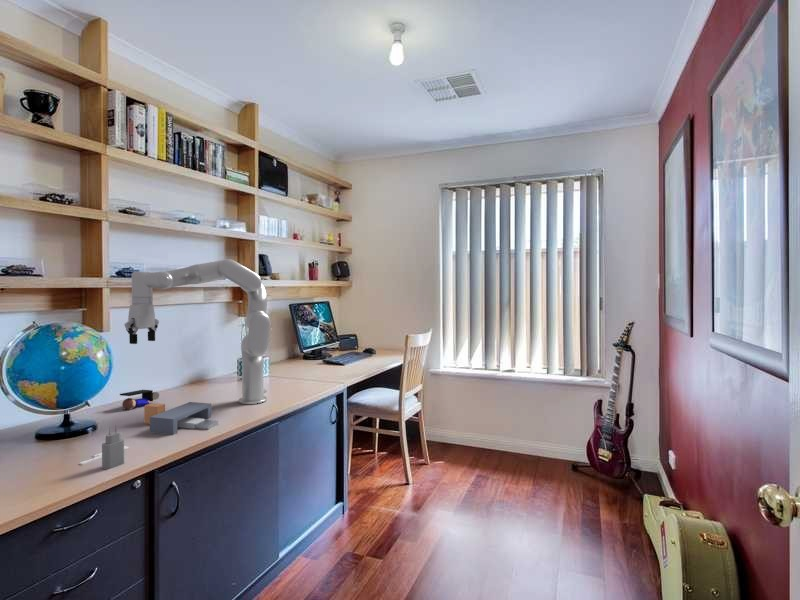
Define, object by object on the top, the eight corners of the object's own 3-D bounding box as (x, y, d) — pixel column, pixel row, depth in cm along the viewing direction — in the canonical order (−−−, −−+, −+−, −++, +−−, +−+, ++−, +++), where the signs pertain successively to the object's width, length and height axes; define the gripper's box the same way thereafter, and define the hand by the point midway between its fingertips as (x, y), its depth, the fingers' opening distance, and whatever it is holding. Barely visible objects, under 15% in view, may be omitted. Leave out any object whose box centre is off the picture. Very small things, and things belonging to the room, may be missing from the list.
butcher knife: (71, 463, 136) (71, 460, 136) (118, 447, 150) (118, 444, 150) (82, 466, 134) (82, 462, 134) (129, 449, 148) (129, 446, 148)
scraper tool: (154, 419, 180) (153, 402, 180) (204, 423, 175) (204, 406, 175) (142, 424, 174) (142, 406, 174) (194, 428, 169) (194, 410, 169)
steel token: (204, 424, 175) (204, 419, 175) (218, 426, 174) (218, 420, 174) (194, 429, 169) (194, 424, 169) (208, 430, 168) (208, 425, 168)
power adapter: (125, 463, 136) (125, 424, 136) (107, 469, 131) (107, 429, 131) (118, 461, 137) (118, 422, 137) (100, 467, 132) (100, 427, 132)
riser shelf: (190, 415, 186) (189, 401, 185) (211, 417, 184) (211, 403, 183) (149, 432, 164) (149, 417, 164) (173, 434, 162) (173, 419, 162)
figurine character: (147, 404, 207) (117, 409, 193) (149, 388, 208) (119, 391, 193) (159, 406, 205) (129, 411, 190) (160, 389, 205) (130, 393, 191)
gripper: (150, 300, 195) (150, 339, 195) (117, 301, 178) (117, 344, 178) (165, 300, 193) (165, 340, 194) (133, 302, 176) (133, 345, 177)
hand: (142, 342), depth 186 cm, fingers open, 9 cm apart
